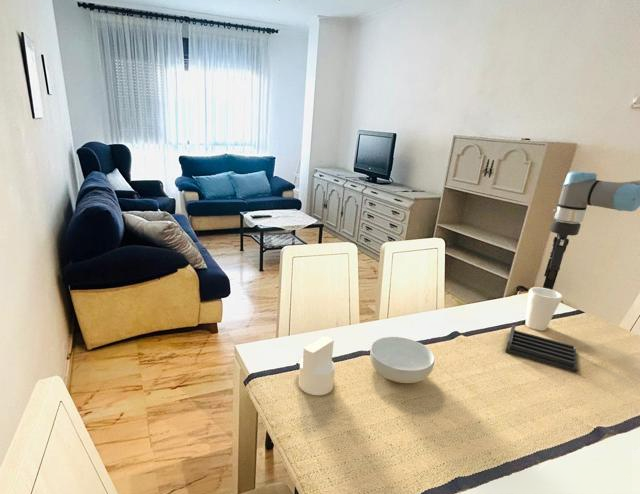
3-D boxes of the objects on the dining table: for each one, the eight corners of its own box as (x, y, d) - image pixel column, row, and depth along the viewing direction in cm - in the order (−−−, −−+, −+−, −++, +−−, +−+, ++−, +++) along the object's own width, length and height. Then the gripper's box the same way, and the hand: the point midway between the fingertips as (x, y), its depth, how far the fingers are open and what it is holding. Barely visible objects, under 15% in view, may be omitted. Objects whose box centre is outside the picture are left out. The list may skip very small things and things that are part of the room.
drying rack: (574, 352, 120) (578, 341, 119) (576, 373, 110) (580, 361, 108) (509, 334, 130) (512, 324, 129) (505, 352, 119) (508, 341, 118)
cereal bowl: (381, 350, 117) (384, 330, 115) (437, 370, 108) (442, 348, 106) (357, 377, 104) (360, 354, 101) (419, 402, 95) (424, 378, 93)
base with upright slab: (319, 400, 94) (322, 358, 90) (291, 384, 100) (293, 343, 96) (339, 384, 101) (344, 344, 96) (312, 369, 106) (315, 331, 102)
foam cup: (524, 317, 143) (534, 285, 138) (554, 326, 136) (564, 293, 132) (517, 325, 136) (526, 291, 132) (547, 335, 130) (558, 300, 126)
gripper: (553, 213, 135) (536, 270, 142) (552, 225, 116) (533, 290, 123) (579, 216, 131) (561, 274, 139) (583, 230, 112) (561, 296, 119)
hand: (548, 282), depth 131 cm, fingers open, 13 cm apart
